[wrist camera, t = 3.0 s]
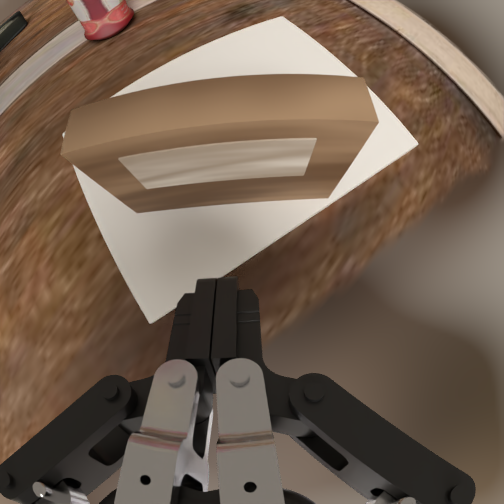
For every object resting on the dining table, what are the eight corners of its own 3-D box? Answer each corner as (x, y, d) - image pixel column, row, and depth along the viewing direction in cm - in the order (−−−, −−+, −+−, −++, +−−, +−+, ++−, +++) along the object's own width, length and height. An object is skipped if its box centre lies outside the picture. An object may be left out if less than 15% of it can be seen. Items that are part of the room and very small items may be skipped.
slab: (328, 199, 20) (379, 124, 10) (136, 214, 20) (60, 156, 11) (323, 165, 21) (363, 77, 11) (138, 181, 21) (71, 109, 11)
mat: (65, 136, 23) (62, 134, 22) (281, 20, 24) (282, 16, 24) (152, 323, 20) (149, 323, 19) (415, 146, 22) (418, 143, 21)
